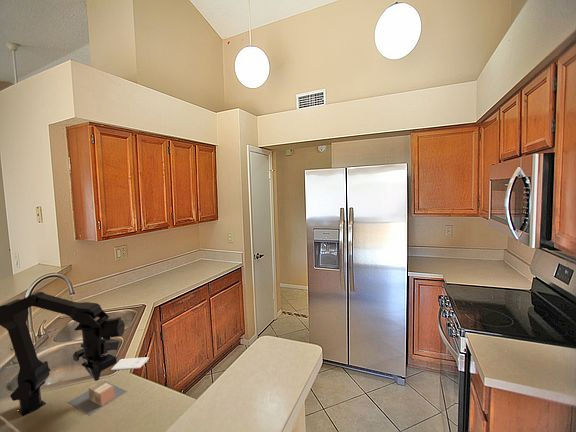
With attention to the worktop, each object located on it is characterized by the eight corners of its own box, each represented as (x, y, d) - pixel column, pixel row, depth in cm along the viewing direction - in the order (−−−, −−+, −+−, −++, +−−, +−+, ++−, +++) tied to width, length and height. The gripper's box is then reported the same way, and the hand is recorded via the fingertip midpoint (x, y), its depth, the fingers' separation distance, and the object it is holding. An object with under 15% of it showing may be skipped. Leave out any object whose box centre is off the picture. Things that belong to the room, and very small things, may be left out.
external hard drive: (121, 362, 129) (149, 359, 130) (111, 372, 121) (140, 370, 121) (121, 358, 129) (148, 356, 129) (110, 369, 121) (139, 366, 121)
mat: (67, 403, 102) (67, 402, 102) (105, 382, 114) (105, 381, 114) (89, 416, 95) (89, 415, 95) (127, 392, 107) (127, 391, 106)
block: (88, 387, 103) (100, 394, 99) (101, 380, 107) (113, 386, 103) (89, 399, 103) (101, 406, 99) (102, 391, 107) (114, 397, 103)
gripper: (129, 333, 105) (133, 373, 106) (101, 325, 114) (105, 362, 115) (97, 348, 96) (102, 392, 97) (70, 338, 105) (74, 378, 106)
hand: (96, 380), depth 104 cm, fingers closed
